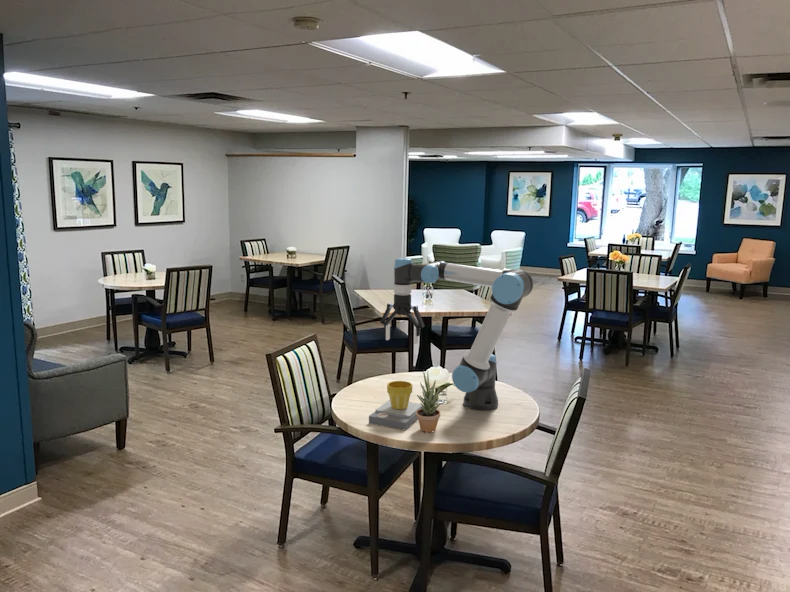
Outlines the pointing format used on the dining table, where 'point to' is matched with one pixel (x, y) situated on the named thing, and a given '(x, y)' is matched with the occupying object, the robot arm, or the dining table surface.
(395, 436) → the dining table surface
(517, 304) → the robot arm
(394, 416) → the kitchen scale
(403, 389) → the plant pot
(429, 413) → the potted plant
